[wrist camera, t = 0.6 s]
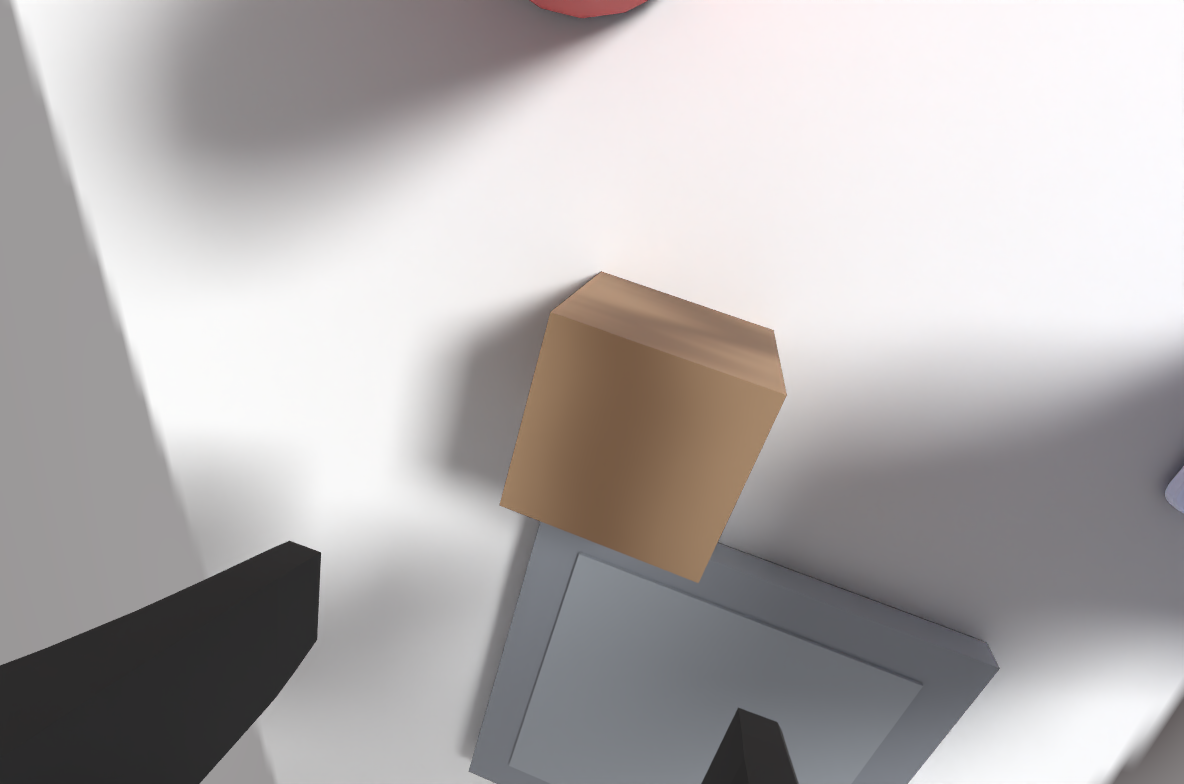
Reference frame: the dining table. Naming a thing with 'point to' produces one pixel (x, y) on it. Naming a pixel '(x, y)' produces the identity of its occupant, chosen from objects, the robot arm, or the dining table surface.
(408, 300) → the dining table surface
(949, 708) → the coaster
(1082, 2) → the dining table surface
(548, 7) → the beer can
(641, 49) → the dining table surface
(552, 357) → the walnut block
